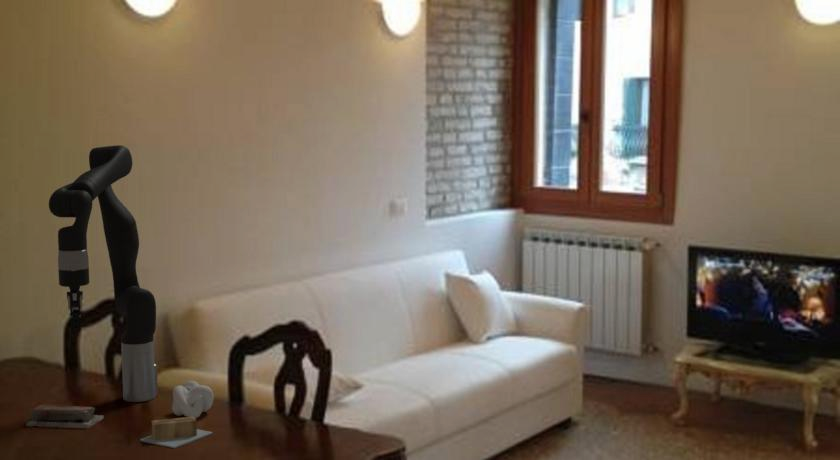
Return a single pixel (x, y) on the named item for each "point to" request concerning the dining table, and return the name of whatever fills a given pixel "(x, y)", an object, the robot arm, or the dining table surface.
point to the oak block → (174, 428)
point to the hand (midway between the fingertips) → (76, 328)
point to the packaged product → (63, 416)
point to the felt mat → (177, 439)
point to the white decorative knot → (191, 399)
